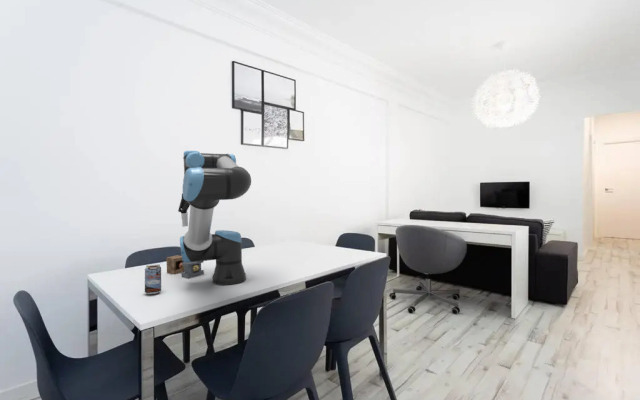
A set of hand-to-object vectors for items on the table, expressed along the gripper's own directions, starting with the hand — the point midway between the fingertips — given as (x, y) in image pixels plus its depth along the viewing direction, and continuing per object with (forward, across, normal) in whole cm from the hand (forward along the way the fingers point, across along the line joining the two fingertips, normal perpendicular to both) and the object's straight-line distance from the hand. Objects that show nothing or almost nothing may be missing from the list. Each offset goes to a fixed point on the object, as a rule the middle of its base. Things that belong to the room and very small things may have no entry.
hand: (194, 226), depth 161 cm
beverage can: (+25, -6, +26) cm, 36 cm away
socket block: (+24, +16, -1) cm, 29 cm away
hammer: (+22, +6, -1) cm, 23 cm away
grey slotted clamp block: (+24, +3, -1) cm, 25 cm away
